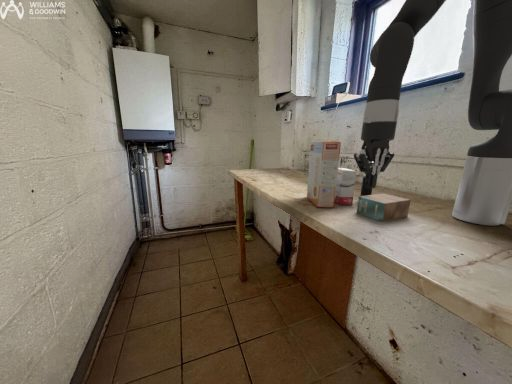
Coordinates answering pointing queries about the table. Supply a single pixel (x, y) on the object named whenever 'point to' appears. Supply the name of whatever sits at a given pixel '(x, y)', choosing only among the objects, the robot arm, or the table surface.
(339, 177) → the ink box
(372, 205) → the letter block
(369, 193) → the walkie-talkie
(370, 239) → the table surface
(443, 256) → the table surface
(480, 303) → the table surface
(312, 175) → the cracker box
